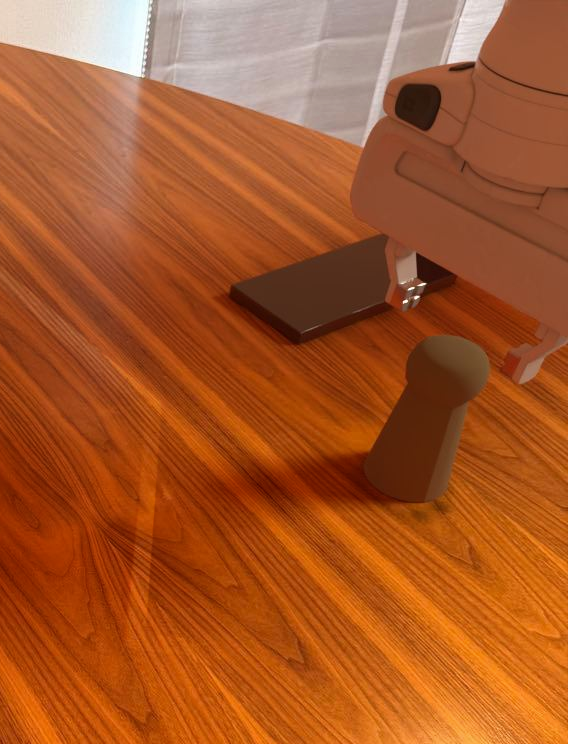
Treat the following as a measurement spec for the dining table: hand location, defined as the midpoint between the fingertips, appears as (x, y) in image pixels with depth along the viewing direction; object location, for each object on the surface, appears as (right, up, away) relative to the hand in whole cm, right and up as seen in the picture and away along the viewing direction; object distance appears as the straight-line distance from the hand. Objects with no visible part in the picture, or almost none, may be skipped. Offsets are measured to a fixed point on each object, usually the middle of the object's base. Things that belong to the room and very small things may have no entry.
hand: (455, 339), depth 63 cm
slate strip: (+1, +10, +26) cm, 28 cm away
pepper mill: (0, -8, +8) cm, 12 cm away
